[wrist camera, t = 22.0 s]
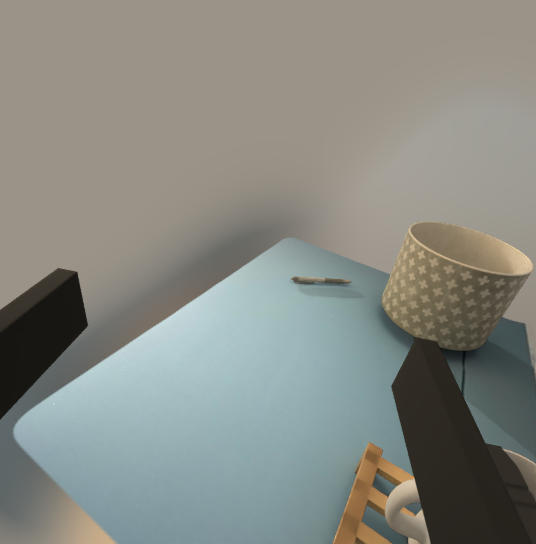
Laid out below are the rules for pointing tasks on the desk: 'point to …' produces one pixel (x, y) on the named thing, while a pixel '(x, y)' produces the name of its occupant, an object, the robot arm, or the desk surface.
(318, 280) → the pen
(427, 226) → the planter
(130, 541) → the desk surface
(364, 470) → the rack
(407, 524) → the mug
